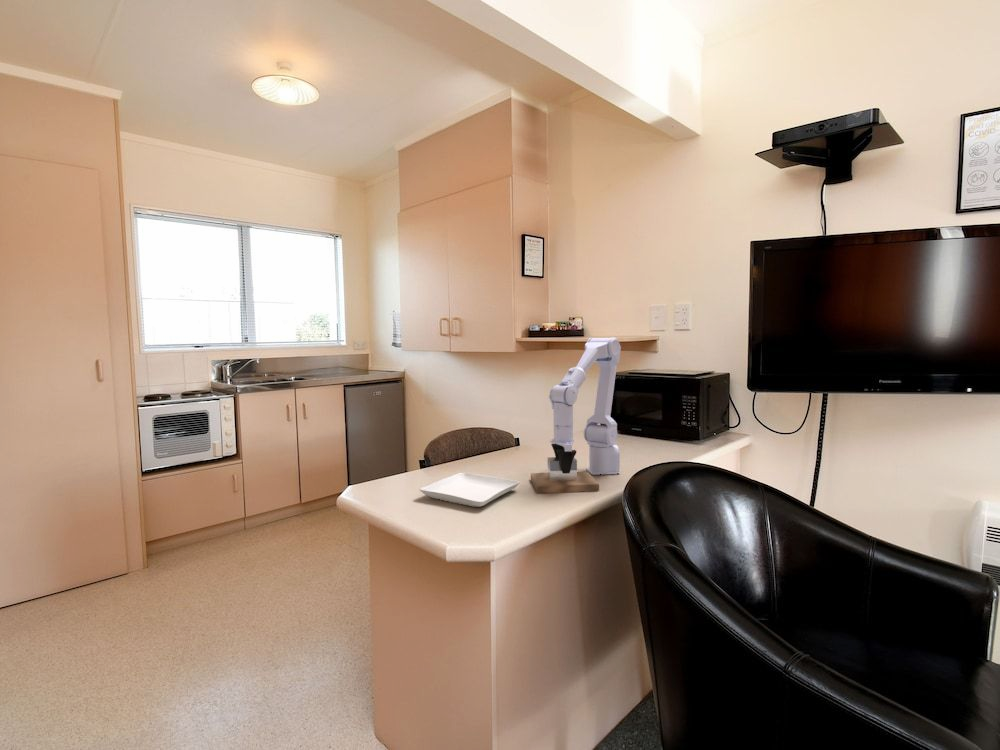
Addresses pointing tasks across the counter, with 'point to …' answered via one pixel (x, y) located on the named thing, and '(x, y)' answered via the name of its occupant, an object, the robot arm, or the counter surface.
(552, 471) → the housing
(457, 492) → the salad plate
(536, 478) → the walnut board
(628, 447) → the counter surface
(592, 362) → the robot arm
